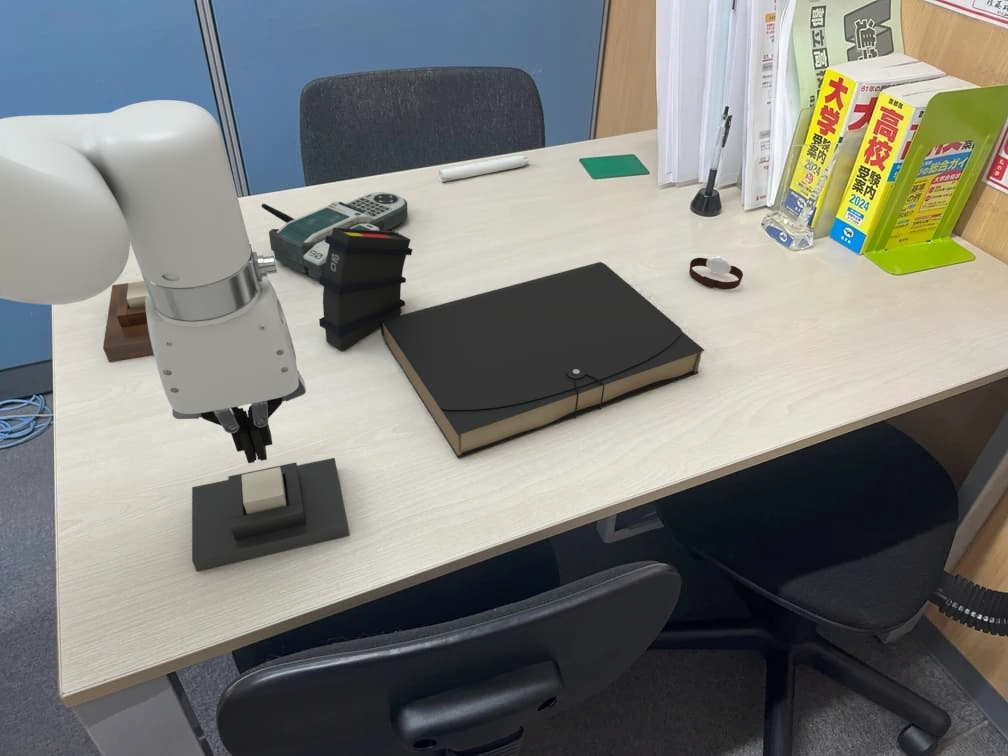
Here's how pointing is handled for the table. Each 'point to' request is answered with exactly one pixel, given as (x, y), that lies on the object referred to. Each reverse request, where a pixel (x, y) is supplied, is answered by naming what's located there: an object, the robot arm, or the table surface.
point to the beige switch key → (137, 294)
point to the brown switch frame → (125, 328)
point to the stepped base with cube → (267, 516)
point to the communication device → (331, 228)
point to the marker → (482, 168)
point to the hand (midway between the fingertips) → (256, 450)
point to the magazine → (361, 282)
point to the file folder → (536, 354)
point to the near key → (263, 490)
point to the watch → (716, 272)
